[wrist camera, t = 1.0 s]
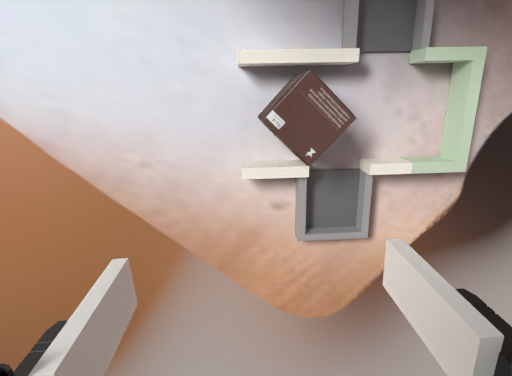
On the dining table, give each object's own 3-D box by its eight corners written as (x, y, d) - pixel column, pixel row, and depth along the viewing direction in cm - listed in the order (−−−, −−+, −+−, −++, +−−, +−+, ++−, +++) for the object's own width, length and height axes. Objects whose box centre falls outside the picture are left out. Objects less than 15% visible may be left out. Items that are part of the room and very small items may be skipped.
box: (334, 114, 34) (359, 119, 27) (294, 154, 35) (309, 168, 28) (295, 72, 33) (311, 67, 26) (255, 115, 34) (260, 121, 27)
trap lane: (234, -36, 30) (234, -49, 27) (479, -36, 31) (503, -49, 28) (243, 235, 38) (244, 247, 35) (438, 227, 39) (454, 238, 36)
